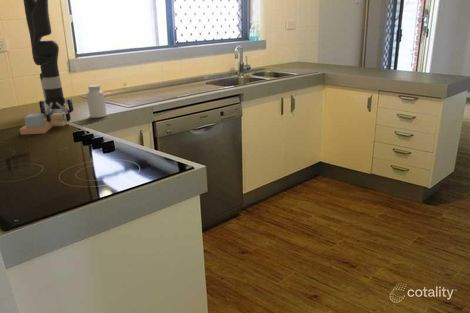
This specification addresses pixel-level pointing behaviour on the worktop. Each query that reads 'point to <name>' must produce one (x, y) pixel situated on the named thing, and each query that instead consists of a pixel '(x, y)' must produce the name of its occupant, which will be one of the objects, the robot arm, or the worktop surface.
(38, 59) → the robot arm
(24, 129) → the tile base
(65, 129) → the worktop surface
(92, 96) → the pill bottle
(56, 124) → the oak block
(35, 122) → the blue block
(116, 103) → the worktop surface
